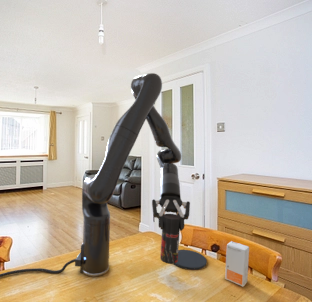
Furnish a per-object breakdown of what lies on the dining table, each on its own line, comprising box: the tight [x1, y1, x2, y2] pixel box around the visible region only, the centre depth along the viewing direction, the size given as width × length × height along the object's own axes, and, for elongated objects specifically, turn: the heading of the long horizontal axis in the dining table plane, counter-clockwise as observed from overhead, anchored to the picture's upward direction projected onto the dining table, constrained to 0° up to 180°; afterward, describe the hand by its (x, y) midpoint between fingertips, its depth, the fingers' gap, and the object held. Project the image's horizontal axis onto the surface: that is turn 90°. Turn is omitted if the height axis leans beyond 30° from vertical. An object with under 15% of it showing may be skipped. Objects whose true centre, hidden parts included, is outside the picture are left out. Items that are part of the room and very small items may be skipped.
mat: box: [173, 249, 208, 271], centre depth 88 cm, size 14×14×1 cm
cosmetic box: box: [224, 240, 250, 288], centre depth 75 cm, size 6×4×12 cm
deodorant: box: [159, 213, 181, 265], centre depth 77 cm, size 6×6×15 cm
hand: (171, 228), depth 75 cm, fingers closed on deodorant, 6 cm apart
